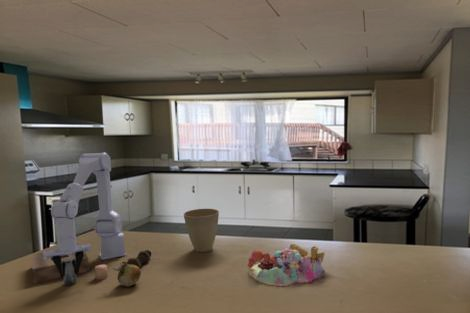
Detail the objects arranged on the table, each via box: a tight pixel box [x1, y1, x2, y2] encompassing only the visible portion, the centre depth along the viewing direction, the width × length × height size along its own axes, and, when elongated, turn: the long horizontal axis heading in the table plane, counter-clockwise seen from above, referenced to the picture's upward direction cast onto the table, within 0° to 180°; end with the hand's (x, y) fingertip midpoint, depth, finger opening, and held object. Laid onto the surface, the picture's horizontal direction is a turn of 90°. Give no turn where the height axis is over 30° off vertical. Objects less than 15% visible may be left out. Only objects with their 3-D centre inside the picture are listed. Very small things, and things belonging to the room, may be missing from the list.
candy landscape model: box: [247, 243, 326, 287], centre depth 125 cm, size 25×24×9 cm
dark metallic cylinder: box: [62, 259, 78, 287], centre depth 123 cm, size 4×4×8 cm
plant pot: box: [183, 208, 220, 253], centre depth 152 cm, size 15×15×16 cm
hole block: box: [32, 251, 90, 284], centre depth 137 cm, size 18×18×5 cm
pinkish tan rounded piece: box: [94, 264, 109, 281], centre depth 127 cm, size 4×4×4 cm
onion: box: [112, 261, 142, 288], centre depth 120 cm, size 8×8×8 cm
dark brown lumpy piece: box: [126, 249, 152, 270], centre depth 138 cm, size 6×5×15 cm
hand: (69, 275), depth 123 cm, fingers open, 4 cm apart
